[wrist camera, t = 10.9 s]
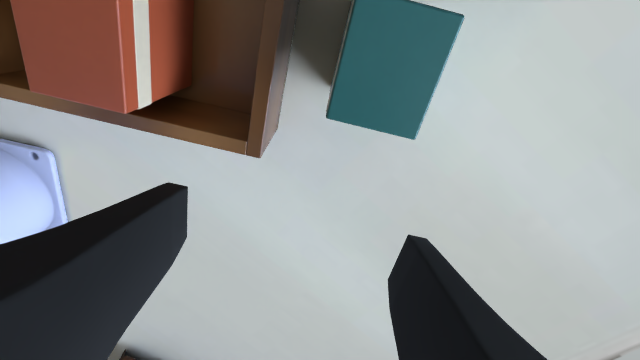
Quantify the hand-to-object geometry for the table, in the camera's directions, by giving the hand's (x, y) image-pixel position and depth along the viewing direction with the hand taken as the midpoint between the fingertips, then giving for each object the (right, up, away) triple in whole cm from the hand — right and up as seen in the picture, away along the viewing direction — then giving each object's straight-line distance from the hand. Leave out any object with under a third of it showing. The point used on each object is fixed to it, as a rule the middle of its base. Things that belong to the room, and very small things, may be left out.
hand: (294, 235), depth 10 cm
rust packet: (-7, +9, +6) cm, 13 cm away
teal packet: (+4, +8, +6) cm, 11 cm away
